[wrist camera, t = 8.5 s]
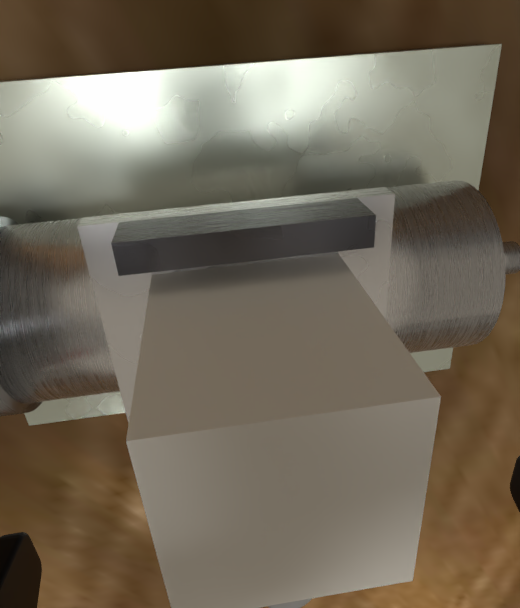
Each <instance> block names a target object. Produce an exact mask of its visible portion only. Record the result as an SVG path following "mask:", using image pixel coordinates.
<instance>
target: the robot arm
mask: <svg viewBox="0 0 520 608" xmlns="http://www.w3.org/2000/svg"><path fill="white" fill-rule="evenodd" d="M510 491H511V494H512V497H513V500H514V502H515V504H516V506H517V508H518V510H519V512H520V456H519V457H518V458H517V460H516V463H515V467H514V471H513V475H512V478H511V482H510ZM41 572H42V568H41V561H40V558H39V556H38V554H37V552H36V550H35V547H34V545H33V543H32V541H31V539H30V537H29V535H28V534H26V533H25V532H21V533H14V534H8V535H4V536H2V537H0V608H37V603H38V595H39V588H40V581H41Z"/></svg>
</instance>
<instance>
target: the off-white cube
mask: <svg viewBox="0 0 520 608" xmlns="http://www.w3.org/2000/svg"><path fill="white" fill-rule="evenodd" d="M440 399H441V396H440V395H439V393H438V392H437V391H436V389H435V388H434V386H433V385H432V384H431V382H430V381H429V379H428V378H427V377H426V375H425V374H424V372H423V371H422V370H421V368H420V367H419V365H418V364H417V363H416V361H415V360H414V358H413V357H412V356H411V354H410V353H409V351H408V350H407V349H406V347H405V346H404V344H403V343H402V342H401V340H400V339H399V337H398V336H397V335H396V333H395V332H394V330H393V329H392V328H391V326H390V325H389V323H388V322H387V321H386V319H385V318H384V316H383V315H382V314H381V312H380V311H379V309H378V308H377V307H376V305H375V304H374V302H373V301H372V300H371V298H370V297H369V295H368V294H367V293H366V291H365V290H364V288H363V287H362V286H361V284H360V283H359V281H358V280H357V279H356V277H355V276H354V274H353V273H352V272H351V270H350V269H349V267H348V266H347V265H346V263H345V262H344V260H343V259H342V258H341V256H340V255H339V254H331V255H322V256H313V257H304V258H296V259H287V260H278V261H269V262H260V263H251V264H242V265H234V266H225V267H216V268H207V269H198V270H189V271H180V272H172V273H163V274H154V275H152V276H151V282H150V289H149V295H148V302H147V308H146V315H145V321H144V328H143V334H142V341H141V347H140V354H139V360H138V367H137V373H136V380H135V386H134V393H133V399H132V406H131V412H130V419H129V425H128V432H127V438H126V443H127V447H128V450H129V454H130V458H131V462H132V465H133V469H134V473H135V476H136V480H137V484H138V487H139V491H140V495H141V498H142V502H143V506H144V509H145V513H146V517H147V520H148V524H149V528H150V532H151V535H152V539H153V543H154V546H155V550H156V554H157V557H158V561H159V565H160V568H161V572H162V576H163V579H164V583H165V587H166V590H167V594H168V598H169V602H170V605H171V608H259V607H265V606H268V607H270V608H300V607H302V606H304V605H305V604H307V603H308V602H309V601H310V600H311V599H312V598H317V597H322V596H328V595H334V594H340V593H345V592H351V591H357V590H362V589H368V588H374V587H380V586H385V585H391V584H397V583H403V582H408V581H413V575H414V568H415V562H416V555H417V549H418V542H419V536H420V529H421V523H422V516H423V510H424V503H425V497H426V490H427V484H428V477H429V471H430V464H431V458H432V451H433V445H434V438H435V432H436V425H437V419H438V412H439V406H440Z"/></svg>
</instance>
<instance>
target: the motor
mask: <svg viewBox="0 0 520 608" xmlns="http://www.w3.org/2000/svg"><path fill="white" fill-rule="evenodd" d="M501 46H502V44H479V45H466V46H453V47H440V48H427V49H413V50H400V51H387V52H374V53H361V54H348V55H334V56H321V57H308V58H295V59H282V60H269V61H256V62H242V63H229V64H216V65H203V66H190V67H177V68H164V69H150V70H137V71H124V72H111V73H98V74H85V75H71V76H58V77H45V78H32V79H19V80H6V81H0V416H7V415H14V414H22V413H24V414H25V417H26V419H27V422H28V424H29V426H30V425H37V424H45V423H52V422H59V421H67V420H74V419H81V418H89V417H96V416H104V415H111V414H118V413H126V416H127V420H128V423H129V419H130V412H131V406H132V399H133V393H134V386H135V380H136V373H137V367H138V360H139V354H140V347H141V341H142V334H143V328H144V321H145V315H146V308H147V302H148V295H149V289H150V282H151V276H152V275H154V274H163V273H172V272H180V271H189V270H198V269H207V268H216V267H225V266H234V265H242V264H251V263H260V262H269V261H278V260H287V259H296V258H304V257H313V256H322V255H331V254H339V255H340V256H341V258H342V259H343V260H344V262H345V263H346V265H347V266H348V267H349V269H350V270H351V272H352V273H353V274H354V276H355V277H356V279H357V280H358V281H359V283H360V284H361V286H362V287H363V288H364V290H365V291H366V293H367V294H368V295H369V297H370V298H371V300H372V301H373V302H374V304H375V305H376V307H377V308H378V309H379V311H380V312H381V314H382V315H383V316H384V318H385V319H386V321H387V322H388V323H389V325H390V326H391V328H392V329H393V330H394V332H395V333H396V335H397V336H398V337H399V339H400V340H401V342H402V343H403V344H404V346H405V347H406V349H407V350H408V351H409V353H410V354H411V356H412V357H413V358H414V360H415V361H416V363H417V364H418V365H419V367H420V368H421V370H422V371H423V372H428V371H435V370H442V369H450V364H451V358H452V352H453V347H460V346H467V345H473V344H477V343H479V342H481V341H482V340H484V339H485V338H486V337H487V336H488V335H489V333H490V332H491V331H492V329H493V327H494V326H495V324H496V322H497V319H498V317H499V314H500V311H501V307H502V303H503V297H504V291H505V274H514V273H517V272H518V271H519V270H520V246H519V245H518V244H517V243H516V242H514V241H509V242H502V239H501V235H500V231H499V228H498V225H497V222H496V219H495V217H494V214H493V212H492V210H491V208H490V206H489V204H488V203H487V201H486V199H485V198H484V197H483V196H482V194H481V193H480V192H479V191H478V190H479V183H480V177H481V171H482V165H483V158H484V152H485V146H486V140H487V133H488V127H489V121H490V115H491V109H492V102H493V96H494V90H495V84H496V77H497V71H498V65H499V59H500V52H501Z"/></svg>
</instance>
